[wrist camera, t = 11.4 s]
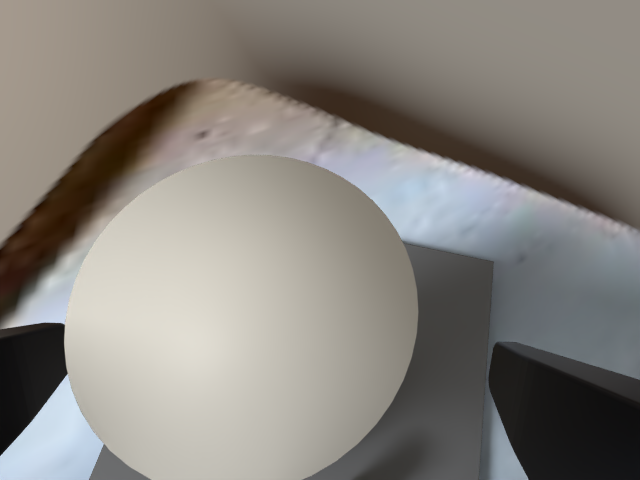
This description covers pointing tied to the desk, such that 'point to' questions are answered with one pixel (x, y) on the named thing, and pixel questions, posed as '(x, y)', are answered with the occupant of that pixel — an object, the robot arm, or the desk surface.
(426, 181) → the desk surface
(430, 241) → the desk surface
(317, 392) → the cream post
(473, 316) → the charcoal plate
